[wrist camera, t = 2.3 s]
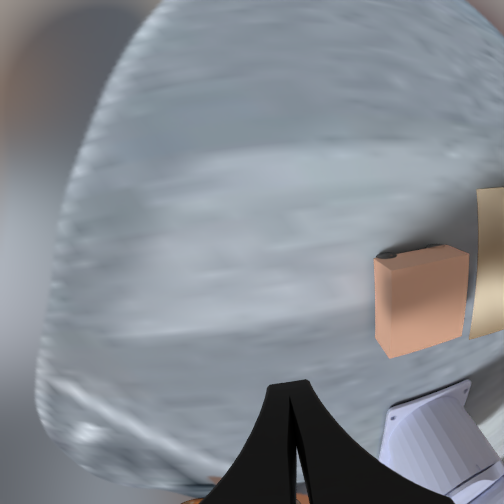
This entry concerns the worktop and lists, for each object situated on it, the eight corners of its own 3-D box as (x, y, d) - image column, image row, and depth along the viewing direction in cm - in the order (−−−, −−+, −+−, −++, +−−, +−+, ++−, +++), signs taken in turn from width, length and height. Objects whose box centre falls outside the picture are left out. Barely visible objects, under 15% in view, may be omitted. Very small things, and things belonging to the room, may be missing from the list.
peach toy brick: (438, 315, 17) (461, 335, 14) (372, 333, 17) (389, 358, 14) (441, 242, 15) (469, 253, 12) (370, 255, 16) (391, 270, 13)
